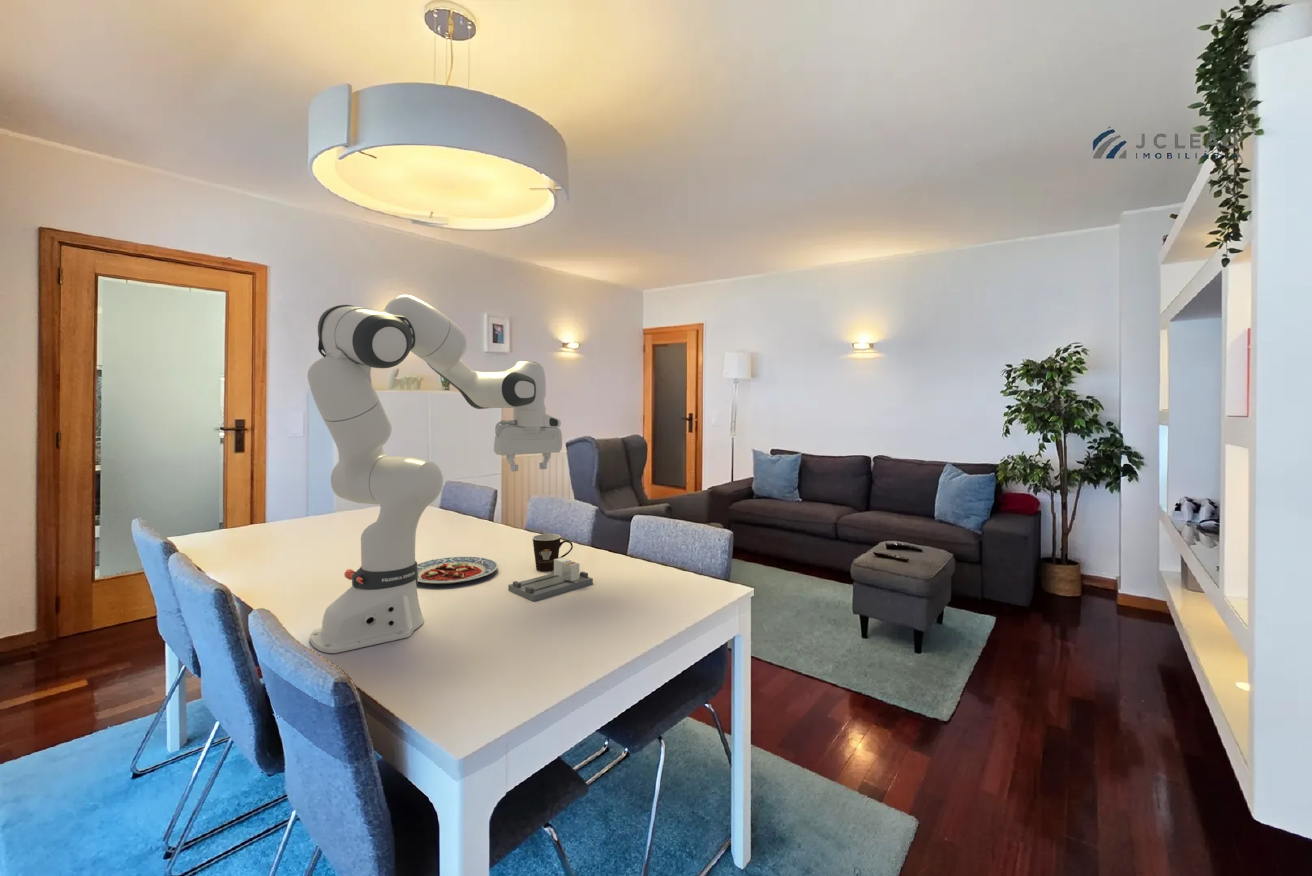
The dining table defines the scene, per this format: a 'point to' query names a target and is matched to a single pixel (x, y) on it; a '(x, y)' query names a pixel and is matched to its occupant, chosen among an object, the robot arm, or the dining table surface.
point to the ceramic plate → (454, 569)
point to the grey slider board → (549, 584)
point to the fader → (570, 571)
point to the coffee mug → (547, 551)
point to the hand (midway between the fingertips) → (529, 470)
